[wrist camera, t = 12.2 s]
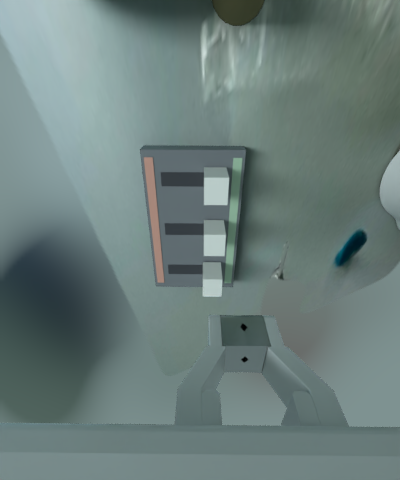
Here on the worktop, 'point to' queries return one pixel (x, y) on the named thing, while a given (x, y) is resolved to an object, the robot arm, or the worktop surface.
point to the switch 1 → (216, 186)
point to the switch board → (189, 210)
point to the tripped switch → (214, 238)
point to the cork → (237, 10)
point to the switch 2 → (212, 279)
